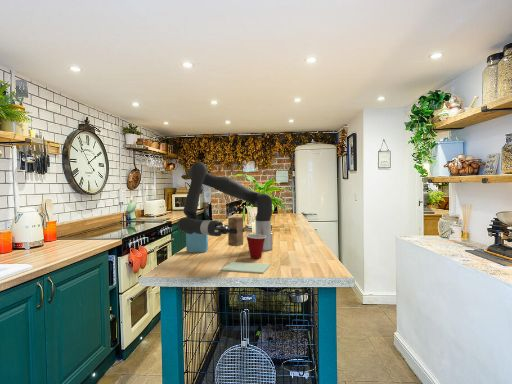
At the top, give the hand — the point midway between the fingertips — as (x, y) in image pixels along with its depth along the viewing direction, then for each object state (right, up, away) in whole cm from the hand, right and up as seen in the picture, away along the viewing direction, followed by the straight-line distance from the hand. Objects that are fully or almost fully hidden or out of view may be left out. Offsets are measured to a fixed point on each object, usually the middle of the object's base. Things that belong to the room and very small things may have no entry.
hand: (240, 230), depth 149 cm
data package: (-27, -17, +39) cm, 50 cm away
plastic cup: (+7, -17, +21) cm, 28 cm away
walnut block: (-2, -7, +2) cm, 7 cm away
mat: (+3, -17, 0) cm, 18 cm away
